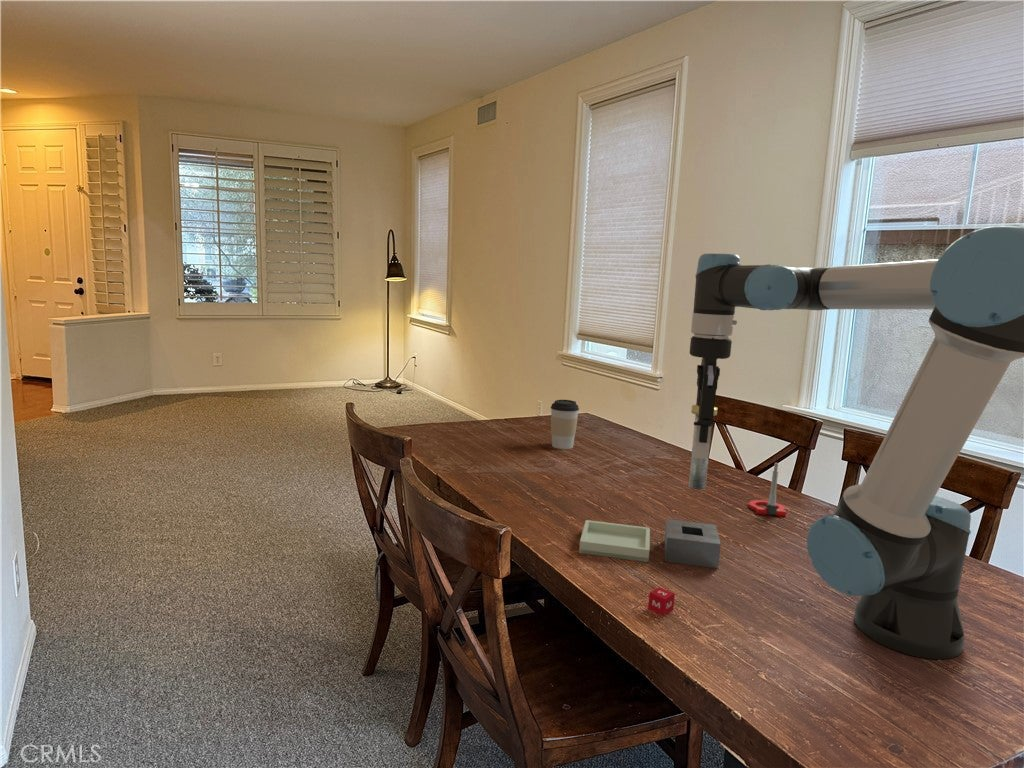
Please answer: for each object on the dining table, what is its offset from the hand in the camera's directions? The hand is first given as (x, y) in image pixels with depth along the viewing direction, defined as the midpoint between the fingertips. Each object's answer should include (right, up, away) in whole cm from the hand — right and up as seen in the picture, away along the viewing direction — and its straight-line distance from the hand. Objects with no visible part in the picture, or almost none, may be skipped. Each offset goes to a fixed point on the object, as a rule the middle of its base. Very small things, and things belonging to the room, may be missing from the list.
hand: (700, 455), depth 127 cm
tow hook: (+26, -17, +32) cm, 44 cm away
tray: (-16, -19, +6) cm, 26 cm away
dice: (-12, -24, -18) cm, 32 cm away
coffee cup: (-21, -6, +80) cm, 83 cm away
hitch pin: (0, -6, +1) cm, 7 cm away
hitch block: (-1, -21, +4) cm, 21 cm away
